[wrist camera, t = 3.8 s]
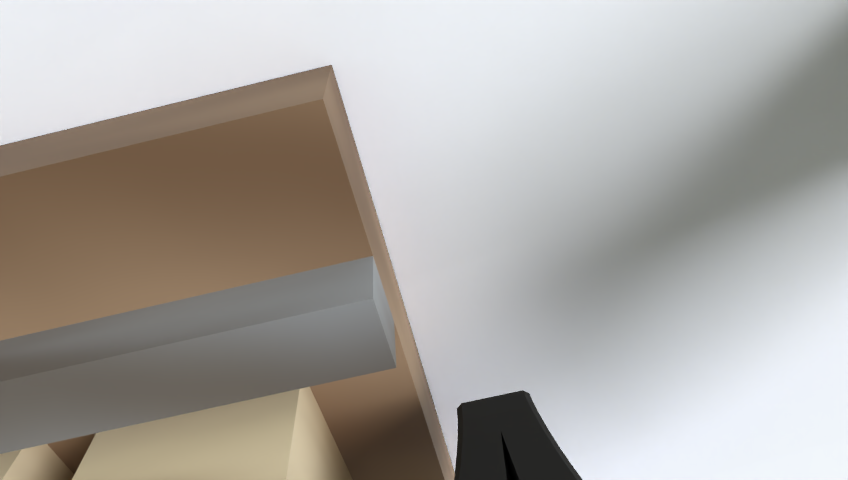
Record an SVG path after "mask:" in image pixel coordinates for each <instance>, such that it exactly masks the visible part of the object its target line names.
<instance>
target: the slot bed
mask: <svg viewBox="0 0 848 480" xmlns="http://www.w3.org/2000/svg"><path fill="white" fill-rule="evenodd" d="M306 387H310V389H311V391H312V393H313V395H314V397H315V399H316V401H317V404H318V406H319V408H320V410H321V412H322V414H323V417H324V419H325V421H326V423H327V425H328V427H329V430H330V432H331V434H332V436H333V438H334V440H335V442H336V445H337V447H338V449H339V451H340V453H341V455H342V458H343V460H344V462H345V464H346V466H347V468H348V471H349V473H350V475H351V477H352V479H353V480H454V477H455V473H454V469H453V466H452V463H451V459H450V456H449V453H448V450H447V446H446V443H445V440H444V436H443V433H442V430H441V426H440V423H439V420H438V416H437V413H436V410H435V406H434V403H433V400H432V396H431V393H430V390H429V386H428V383H427V380H426V376H425V373H424V370H423V367H422V363H421V360H420V357H419V353H418V350H417V347H416V343H415V340H414V337H413V333H412V330H411V327H410V323H409V320H408V317H407V313H406V310H405V307H404V303H403V300H402V297H401V293H400V290H399V287H398V284H397V280H396V277H395V274H394V270H393V267H392V264H391V260H390V257H389V254H388V250H387V247H386V244H385V240H384V237H383V234H382V230H381V227H380V224H379V220H378V217H377V214H376V210H375V207H374V204H373V201H372V197H371V194H370V191H369V187H368V184H367V181H366V177H365V174H364V171H363V167H362V164H361V161H360V157H359V154H358V151H357V147H356V144H355V141H354V137H353V134H352V131H351V127H350V124H349V121H348V117H347V114H346V111H345V108H344V104H343V101H342V98H341V94H340V91H339V88H338V84H337V81H336V78H335V74H334V71H333V68H332V65H329V66H325V67H321V68H317V69H313V70H309V71H305V72H301V73H296V74H292V75H288V76H284V77H280V78H276V79H272V80H268V81H264V82H260V83H255V84H251V85H247V86H243V87H239V88H235V89H231V90H227V91H223V92H219V93H214V94H210V95H206V96H202V97H198V98H194V99H190V100H186V101H182V102H178V103H173V104H169V105H165V106H161V107H157V108H153V109H149V110H145V111H141V112H137V113H132V114H128V115H124V116H120V117H116V118H112V119H108V120H104V121H100V122H96V123H91V124H87V125H83V126H79V127H75V128H71V129H67V130H63V131H59V132H55V133H50V134H46V135H42V136H38V137H34V138H30V139H26V140H22V141H18V142H14V143H9V144H5V145H1V146H0V454H3V453H7V452H12V451H17V450H21V449H26V448H30V447H35V446H40V445H44V444H48V446H49V447H50V448H51V449H52V450H53V451H54V452H55V453H56V455H57V456H58V457H59V458H60V459H61V460H62V461H63V462H64V464H65V465H66V466H67V467H68V468H69V469H70V470H71V471H72V473H73V474H74V475H75V473H76V471H77V469H78V467H79V465H80V463H81V461H82V459H83V457H84V455H85V454H86V452H87V450H88V448H89V446H90V444H91V442H92V440H93V438H94V436H95V435H96V433H99V432H104V431H108V430H113V429H118V428H122V427H127V426H131V425H136V424H141V423H145V422H150V421H154V420H159V419H164V418H168V417H173V416H177V415H182V414H187V413H191V412H196V411H200V410H205V409H209V408H214V407H219V406H223V405H228V404H232V403H237V402H242V401H246V400H251V399H255V398H260V397H265V396H269V395H274V394H278V393H283V392H288V391H292V390H297V389H301V388H306Z"/></svg>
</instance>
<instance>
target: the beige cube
mask: <svg viewBox="0 0 848 480" xmlns="http://www.w3.org/2000/svg"><path fill="white" fill-rule="evenodd" d="M73 476H74V474H73V473H72V471H71V470H70V469H69V468H68V467H67V466H66V465H65V464H64V462H63V461H62V460H61V459H60V458H59V457H58V456H57V455H56V453H55V452H54V451H53V450H52V449H51V448H50V447H49V446H48V444H44V445H40V446H35V447H30V448H26V449H21V450H17V451H12V452H7V453H3V454H0V480H72V478H73Z"/></svg>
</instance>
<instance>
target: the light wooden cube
mask: <svg viewBox="0 0 848 480" xmlns="http://www.w3.org/2000/svg"><path fill="white" fill-rule="evenodd" d="M72 480H353V479H352V477H351V475H350V473H349V471H348V468H347V466H346V464H345V462H344V460H343V458H342V455H341V453H340V451H339V449H338V447H337V445H336V442H335V440H334V438H333V436H332V434H331V432H330V430H329V427H328V425H327V423H326V421H325V419H324V417H323V414H322V412H321V410H320V408H319V406H318V404H317V401H316V399H315V397H314V395H313V393H312V391H311V389H310V387H306V388H301V389H297V390H292V391H288V392H283V393H278V394H274V395H269V396H265V397H260V398H255V399H251V400H246V401H242V402H237V403H232V404H228V405H223V406H219V407H214V408H209V409H205V410H200V411H196V412H191V413H187V414H182V415H177V416H173V417H168V418H164V419H159V420H154V421H150V422H145V423H141V424H136V425H131V426H127V427H122V428H118V429H113V430H108V431H104V432H99V433H96V435H95V436H94V438H93V440H92V442H91V444H90V446H89V448H88V450H87V452H86V454H85V455H84V457H83V459H82V461H81V463H80V465H79V467H78V469H77V471H76V473H75V475H74V476H73V478H72Z"/></svg>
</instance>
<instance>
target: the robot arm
mask: <svg viewBox="0 0 848 480" xmlns="http://www.w3.org/2000/svg"><path fill="white" fill-rule="evenodd" d="M457 415H458V444H457V457H456V468H455V477H454V480H582V479H581V477H580V476H579V474H578V473H577V472H576V470H575V469H574V468H573V466H572V465H571V463H570V462H569V461H568V459H567V458H566V456H565V455H564V453H563V452H562V450H561V449H560V447H559V446H558V444H557V443H556V441H555V440H554V438H553V436H552V435H551V433H550V432H549V430H548V428H547V427H546V425H545V423H544V422H543V420H542V418H541V416H540V415H539V413H538V411H537V409H536V407H535V405H534V403H533V401H532V399H531V397H530V394H529V393H527V392H525V391H518V392H513V393H509V394H504V395H499V396H494V397H490V398H485V399H480V400H475V401H471V402H466V403H462V404H461V405H460V406H459V407H458V408H457Z"/></svg>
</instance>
